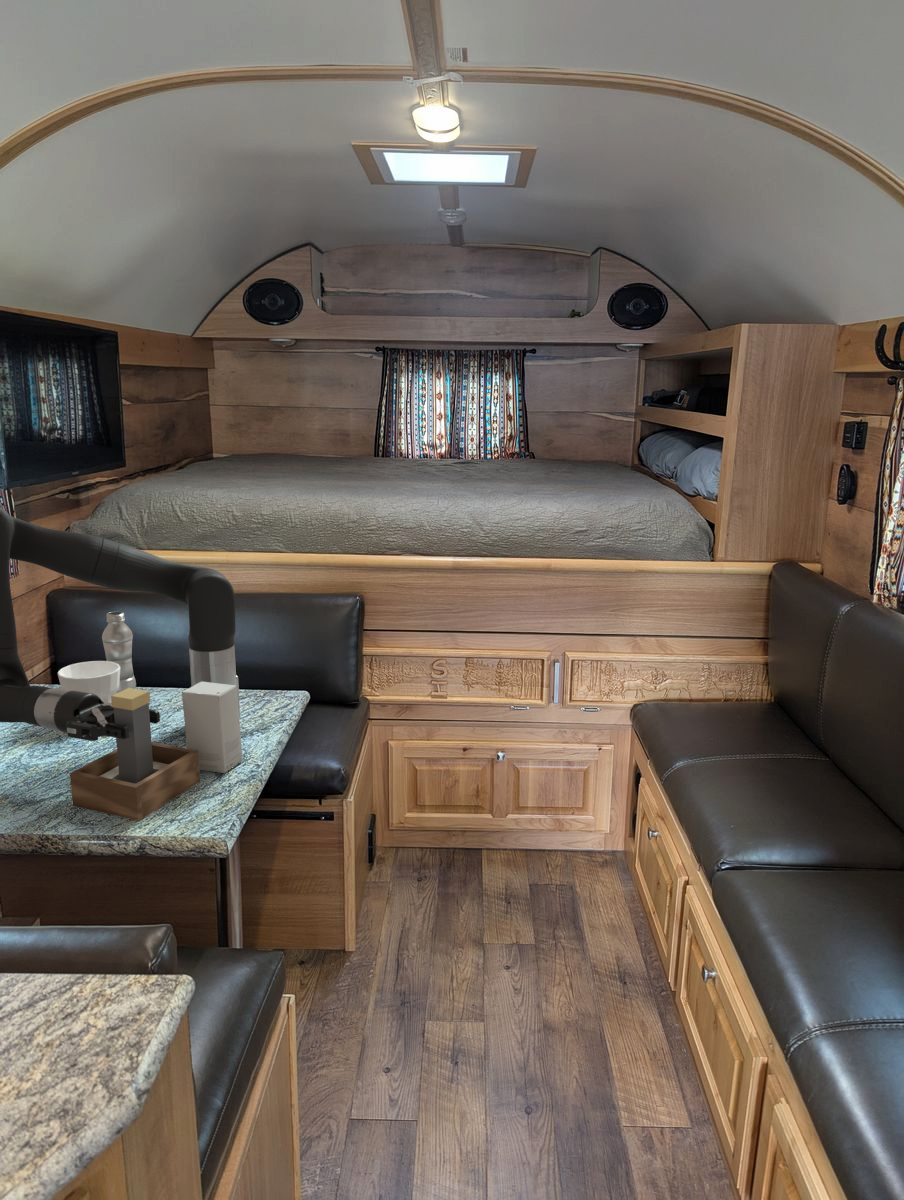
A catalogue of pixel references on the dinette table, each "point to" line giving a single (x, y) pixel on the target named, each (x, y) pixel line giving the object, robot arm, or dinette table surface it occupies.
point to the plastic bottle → (119, 648)
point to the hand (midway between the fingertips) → (143, 724)
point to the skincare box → (213, 725)
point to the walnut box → (109, 795)
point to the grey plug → (133, 734)
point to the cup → (91, 678)
